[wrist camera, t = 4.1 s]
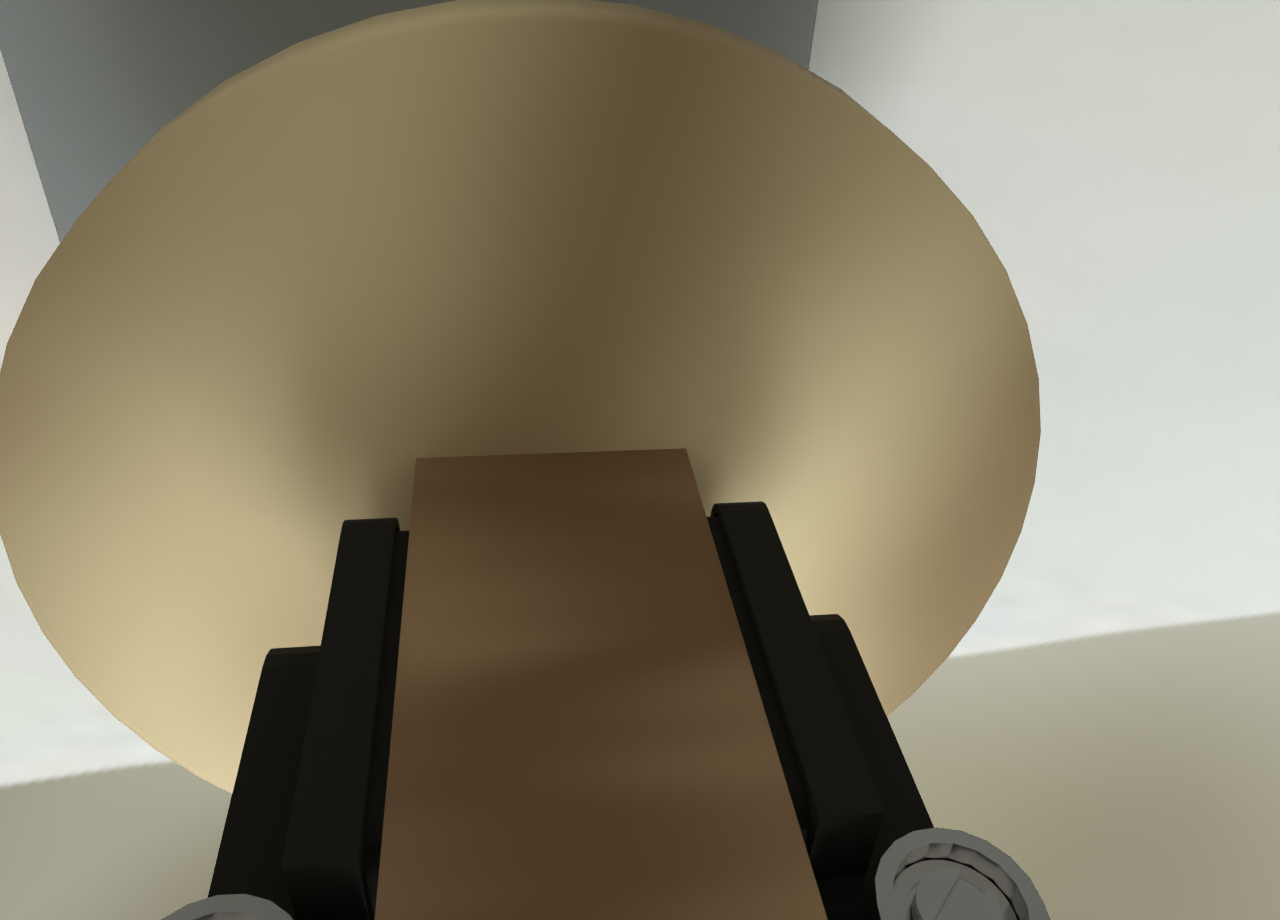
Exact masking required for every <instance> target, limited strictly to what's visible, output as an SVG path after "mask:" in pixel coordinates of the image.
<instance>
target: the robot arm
mask: <svg viewBox="0 0 1280 920" xmlns="http://www.w3.org/2000/svg"><path fill="white" fill-rule="evenodd" d="M707 520H708V524H709V527H710V530H711V533H712V537H713V540H714V543H715V547H716V550H717V553H718V557H719V560H720V563H721V567H722V570H723V573H724V577H725V580H726V583H727V587H728V590H729V593H730V597H731V600H732V603H733V607H734V610H735V613H736V617H737V620H738V623H739V627H740V630H741V633H742V637H743V640H744V643H745V647H746V650H747V653H748V657H749V660H750V663H751V667H752V670H753V673H754V677H755V680H756V683H757V686H758V690H759V693H760V696H761V700H762V703H763V706H764V710H765V713H766V716H767V720H768V723H769V726H770V730H771V733H772V736H773V740H774V743H775V746H776V750H777V753H778V756H779V760H780V763H781V766H782V770H783V773H784V776H785V780H786V783H787V786H788V790H789V793H790V796H791V800H792V803H793V806H794V810H795V813H796V816H797V820H798V823H799V826H800V830H801V833H802V836H803V840H804V843H805V846H806V849H807V853H808V856H809V859H810V863H811V866H812V869H813V873H814V876H815V879H816V883H817V886H818V889H819V893H820V896H821V899H822V903H823V906H824V909H825V913H826V916H827V919H828V920H1050V917H1049V915H1048V912H1047V910H1046V908H1045V905H1044V902H1043V900H1042V899H1041V897H1040V895H1039V893H1038V891H1037V890H1036V888H1035V886H1034V884H1033V883H1032V881H1031V879H1030V877H1029V876H1028V875H1027V874H1026V873H1025V872H1024V871H1023V870H1022V869H1021V868H1020V867H1019V866H1018V865H1017V863H1016V862H1015V861H1014V860H1013V859H1012V858H1011V857H1010V856H1008V855H1007V854H1006V853H1004V852H1003V851H1001V850H1000V849H998V848H997V847H995V846H994V845H992V844H991V843H989V842H988V841H986V840H984V839H981V838H979V837H975V836H973V835H971V834H968V833H966V832H963V831H959V830H951V829H944V828H934V827H933V824H932V822H931V819H930V817H929V815H928V812H927V810H926V808H925V806H924V803H923V801H922V798H921V796H920V794H919V791H918V789H917V787H916V784H915V782H914V780H913V777H912V775H911V773H910V770H909V768H908V766H907V763H906V761H905V758H904V756H903V754H902V751H901V749H900V747H899V744H898V742H897V740H896V737H895V735H894V733H893V730H892V728H891V726H890V723H889V721H888V719H887V716H886V714H885V711H884V709H883V707H882V704H881V702H880V700H879V697H878V695H877V693H876V690H875V688H874V686H873V683H872V681H871V679H870V676H869V674H868V672H867V669H866V667H865V664H864V662H863V660H862V657H861V655H860V653H859V650H858V648H857V646H856V643H855V641H854V639H853V636H852V634H851V632H850V630H849V628H848V626H847V624H846V622H845V620H844V619H843V618H842V617H841V616H840V615H838V614H825V615H809V613H808V610H807V608H806V605H805V603H804V600H803V597H802V595H801V592H800V590H799V587H798V584H797V582H796V579H795V577H794V574H793V571H792V569H791V566H790V564H789V561H788V559H787V556H786V553H785V551H784V548H783V546H782V543H781V540H780V538H779V535H778V533H777V530H776V527H775V525H774V522H773V520H772V517H771V514H770V512H769V509H768V507H767V505H766V504H765V503H764V502H763V501H758V502H735V503H716V504H714V505H713V507H712V510H711V516H710V517H707ZM409 531H410V530H409ZM409 531H400V527H399V522H398V519H397V518H376V519H354V520H344V522H343V524H342V528H341V533H340V539H339V544H338V550H337V556H336V561H335V567H334V573H333V578H332V584H331V590H330V595H329V601H328V607H327V612H326V618H325V624H324V629H323V635H322V641H321V645H320V646H304V647H288V648H273V649H270V650H269V652H268V653H267V655H266V657H265V661H264V664H263V667H262V671H261V675H260V679H259V683H258V688H257V692H256V696H255V700H254V704H253V709H252V713H251V717H250V721H249V726H248V730H247V734H246V738H245V742H244V747H243V751H242V755H241V759H240V764H239V768H238V772H237V776H236V780H235V785H234V789H233V793H232V797H231V802H230V806H229V810H228V815H227V818H226V823H225V827H224V831H223V835H222V840H221V844H220V848H219V852H218V857H217V861H216V865H215V869H214V873H213V878H212V882H211V886H210V890H209V895H208V898H206V899H203V900H200V901H197V902H193V903H190V904H187V905H186V906H184V907H182V908H181V909H179V910H177V911H175V912H174V913H172V914H170V915H169V916H167V917H165V918H163V919H162V920H375V911H376V899H377V888H378V877H379V866H380V855H381V844H382V832H383V821H384V810H385V799H386V788H387V777H388V765H389V754H390V743H391V732H392V721H393V710H394V699H395V687H396V676H397V665H398V654H399V643H400V632H401V620H402V609H403V598H404V587H405V576H406V565H407V554H408V542H409Z"/></svg>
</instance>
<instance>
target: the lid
mask: <svg viewBox="0 0 1280 920" xmlns="http://www.w3.org/2000/svg"><path fill="white" fill-rule="evenodd" d="M1040 433H1041V429H1040V403H1039V379H1038V374H1037V369H1036V364H1035V359H1034V354H1033V350H1032V345H1031V340H1030V335H1029V330H1028V326H1027V322H1026V320H1025V317H1024V315H1023V312H1022V310H1021V307H1020V305H1019V302H1018V300H1017V297H1016V294H1015V292H1014V289H1013V287H1012V284H1011V282H1010V279H1009V277H1008V274H1007V272H1006V269H1005V268H1004V266H1003V264H1002V263H1001V261H1000V259H999V258H998V256H997V254H996V253H995V251H994V249H993V248H992V246H991V245H990V243H989V241H988V240H987V238H986V236H985V235H984V233H983V231H982V230H981V228H980V226H979V225H978V223H977V221H976V220H975V218H974V217H973V215H972V214H971V213H970V212H969V211H968V209H967V208H966V207H965V206H964V205H963V204H962V203H961V201H960V200H959V199H958V198H957V197H956V196H955V194H954V193H953V192H952V191H951V190H950V189H949V188H948V186H947V185H946V184H945V183H944V182H943V181H942V179H941V178H940V177H939V176H938V175H937V174H936V173H935V171H934V170H933V169H932V168H931V167H930V166H929V165H928V164H927V163H926V162H925V161H924V160H923V159H922V158H921V157H919V156H918V155H917V154H916V153H915V152H914V151H913V150H912V149H911V148H909V147H908V146H907V145H906V144H905V143H904V142H903V141H902V140H901V139H900V138H898V137H897V136H896V135H895V134H894V133H893V132H892V131H890V130H889V129H888V128H887V127H886V126H884V125H883V124H882V123H881V122H880V121H878V120H877V119H876V118H875V117H874V116H872V115H871V114H870V113H869V112H867V111H866V110H865V109H864V108H863V107H861V106H860V105H859V104H858V103H857V102H855V101H854V100H853V99H852V98H851V97H849V96H848V95H847V94H846V93H845V92H843V91H842V90H841V89H839V88H838V87H836V86H834V85H832V84H831V83H829V82H827V81H826V80H824V79H822V78H821V77H819V76H817V75H816V74H814V73H812V72H811V71H809V70H807V69H806V68H804V67H802V66H801V65H799V64H797V63H796V62H794V61H792V60H791V59H789V58H787V57H786V56H784V55H782V54H781V53H779V52H776V51H774V50H772V49H769V48H767V47H764V46H762V45H759V44H757V43H754V42H752V41H750V40H747V39H745V38H742V37H740V36H737V35H735V34H732V33H730V32H727V31H725V30H723V29H720V28H718V27H715V26H713V25H710V24H708V23H704V22H700V21H696V20H692V19H688V18H684V17H680V16H676V15H672V14H668V13H664V12H660V11H655V10H651V9H647V8H643V7H639V6H635V5H631V4H624V3H614V2H604V1H594V0H456V1H450V2H445V3H440V4H434V5H429V6H424V7H418V8H413V9H408V10H402V11H397V12H392V13H386V14H381V15H376V16H374V17H371V18H368V19H365V20H362V21H359V22H356V23H353V24H350V25H347V26H344V27H342V28H339V29H336V30H333V31H330V32H327V33H324V34H321V35H318V36H315V37H312V38H310V39H307V40H304V41H301V42H298V43H296V44H294V45H292V46H290V47H288V48H286V49H284V50H283V51H281V52H279V53H277V54H275V55H273V56H271V57H269V58H267V59H265V60H263V61H261V62H260V63H258V64H256V65H254V66H252V67H250V68H248V69H246V70H244V71H242V72H240V73H238V74H237V75H235V76H233V77H231V78H229V79H227V80H225V81H224V82H222V83H221V84H220V85H218V86H217V87H216V88H214V89H213V90H212V91H210V92H209V93H208V94H206V95H205V96H204V97H202V98H201V99H199V100H198V101H197V102H195V103H194V104H193V105H191V106H190V107H189V108H187V109H186V110H185V111H183V112H182V113H181V114H179V115H178V116H176V117H175V118H174V119H172V120H171V121H170V122H168V123H167V124H166V125H164V126H163V127H162V128H161V129H160V130H159V131H158V132H157V133H156V134H155V135H154V136H153V137H152V138H151V139H150V140H149V141H148V142H147V143H146V144H145V145H144V146H143V147H142V148H141V150H140V151H139V152H138V153H137V154H136V155H135V156H134V157H133V158H132V159H131V160H130V161H129V162H128V163H127V164H126V165H125V166H124V167H123V168H122V169H121V170H120V171H119V172H118V173H117V174H116V175H115V176H114V177H113V178H112V179H111V180H110V182H109V183H108V184H107V185H106V186H105V187H104V188H103V190H102V191H101V192H100V193H99V194H98V195H97V196H96V198H95V199H94V200H93V201H92V202H91V203H90V204H89V206H88V207H87V208H86V209H85V210H84V211H83V212H82V214H81V215H80V216H79V217H78V218H77V220H76V221H75V222H74V224H73V225H72V227H71V228H70V230H69V231H68V233H67V234H66V236H65V237H64V239H63V240H62V242H61V243H60V245H59V246H58V247H57V249H56V250H55V252H54V253H53V255H52V256H51V258H50V259H49V261H48V262H47V264H46V265H45V267H44V268H43V269H42V271H41V272H40V274H39V275H38V277H37V278H36V280H35V282H34V284H33V286H32V289H31V291H30V293H29V295H28V298H27V300H26V302H25V304H24V307H23V309H22V311H21V313H20V316H19V318H18V320H17V323H16V325H15V327H14V329H13V332H12V334H11V336H10V338H9V341H8V343H7V346H6V351H5V355H4V359H3V364H2V368H1V372H0V534H1V537H2V540H3V543H4V546H5V549H6V552H7V555H8V558H9V561H10V564H11V567H12V570H13V574H14V577H15V580H16V582H17V584H18V586H19V588H20V590H21V592H22V594H23V596H24V598H25V600H26V602H27V603H28V605H29V607H30V609H31V611H32V613H33V615H34V617H35V619H36V621H37V622H38V624H39V626H40V628H41V630H42V632H43V633H44V635H45V636H46V637H47V639H48V640H49V642H50V643H51V644H52V646H53V647H54V648H55V650H56V651H57V652H58V654H59V655H60V656H61V658H62V659H63V661H64V662H65V663H66V665H67V666H68V667H69V669H70V670H71V671H72V673H73V674H74V676H75V677H76V678H77V679H78V680H79V681H80V682H81V683H82V684H83V685H84V686H85V687H86V688H87V689H88V690H89V691H90V692H91V693H92V694H93V695H94V696H95V697H96V698H97V699H98V700H99V702H100V703H101V704H102V705H103V706H104V707H105V708H106V709H107V710H108V711H109V712H110V713H111V714H112V715H113V716H114V717H115V718H117V719H118V720H119V721H120V722H122V723H123V724H124V725H125V726H127V727H128V728H129V729H130V730H132V731H133V732H134V733H135V734H137V735H138V736H139V737H140V738H142V739H143V740H144V741H145V742H147V743H148V744H149V745H150V746H152V747H153V748H154V749H155V750H157V751H159V752H160V753H162V754H163V755H165V756H166V757H168V758H170V759H171V760H173V761H174V762H176V763H178V764H179V765H181V766H182V767H184V768H186V769H187V770H189V771H190V772H192V773H194V774H195V775H197V776H198V777H200V778H201V779H204V780H206V781H208V782H210V783H212V784H214V785H216V786H218V787H220V788H222V789H224V790H226V791H228V792H230V793H233V789H234V785H235V780H236V776H237V772H238V768H239V764H240V759H241V755H242V751H243V747H244V742H245V738H246V734H247V730H248V726H249V721H250V717H251V713H252V709H253V704H254V700H255V696H256V692H257V688H258V683H259V679H260V675H261V671H262V667H263V664H264V661H265V657H266V655H267V653H268V652H269V650H270V649H273V648H288V647H304V646H320V645H321V641H322V635H323V629H324V624H325V618H326V612H327V607H328V601H329V595H330V590H331V584H332V578H333V573H334V567H335V561H336V556H337V550H338V544H339V539H340V533H341V528H342V524H343V522H344V520H354V519H376V518H397V519H398V522H399V527H400V531H409V530H410V531H409V542H408V554H407V565H406V576H405V587H404V598H403V609H402V620H401V632H400V643H399V654H398V665H397V676H396V687H395V699H394V710H393V721H392V732H391V743H390V754H389V765H388V777H387V788H386V799H385V810H384V821H383V832H382V844H381V855H380V866H379V877H378V888H377V899H376V911H375V920H828V919H827V916H826V913H825V909H824V906H823V903H822V899H821V896H820V893H819V889H818V886H817V883H816V879H815V876H814V873H813V869H812V866H811V863H810V859H809V856H808V853H807V849H806V846H805V843H804V840H803V836H802V833H801V830H800V826H799V823H798V820H797V816H796V813H795V810H794V806H793V803H792V800H791V796H790V793H789V790H788V786H787V783H786V780H785V776H784V773H783V770H782V766H781V763H780V760H779V756H778V753H777V750H776V746H775V743H774V740H773V736H772V733H771V730H770V726H769V723H768V720H767V716H766V713H765V710H764V706H763V703H762V700H761V696H760V693H759V690H758V686H757V683H756V680H755V677H754V673H753V670H752V667H751V663H750V660H749V657H748V653H747V650H746V647H745V643H744V640H743V637H742V633H741V630H740V627H739V623H738V620H737V617H736V613H735V610H734V607H733V603H732V600H731V597H730V593H729V590H728V587H727V583H726V580H725V577H724V573H723V570H722V567H721V563H720V560H719V557H718V553H717V550H716V547H715V543H714V540H713V537H712V533H711V530H710V527H709V524H708V520H707V517H710V516H711V510H712V507H713V505H714V504H716V503H735V502H758V501H763V502H764V503H765V504H766V505H767V507H768V509H769V512H770V514H771V517H772V520H773V522H774V525H775V527H776V530H777V533H778V535H779V538H780V540H781V543H782V546H783V548H784V551H785V553H786V556H787V559H788V561H789V564H790V566H791V569H792V571H793V574H794V577H795V579H796V582H797V584H798V587H799V590H800V592H801V595H802V597H803V600H804V603H805V605H806V608H807V610H808V613H809V615H825V614H838V615H840V616H841V617H842V618H843V619H844V620H845V622H846V624H847V626H848V628H849V630H850V632H851V634H852V636H853V639H854V641H855V643H856V646H857V648H858V650H859V653H860V655H861V657H862V660H863V662H864V664H865V667H866V669H867V672H868V674H869V676H870V679H871V681H872V683H873V686H874V688H875V690H876V693H877V695H878V697H879V700H880V702H881V704H882V707H883V709H884V711H885V714H886V716H888V715H889V714H890V713H891V712H893V711H894V710H895V709H896V708H897V707H898V706H899V705H900V704H902V703H903V702H904V701H905V700H907V699H908V698H909V697H910V696H911V695H912V694H913V693H914V692H915V691H916V690H917V689H918V688H919V687H920V686H921V685H922V684H923V683H924V682H925V681H926V680H927V679H928V678H929V677H930V675H932V673H933V672H934V671H935V670H936V669H937V668H938V667H939V666H940V665H941V664H942V663H943V662H944V661H945V660H946V659H947V657H948V656H949V655H950V654H951V652H952V651H953V650H954V648H955V647H956V646H957V644H958V643H959V642H960V640H961V639H962V638H963V637H964V635H965V634H966V633H967V631H968V630H969V629H970V627H971V626H972V625H973V623H974V622H975V621H976V619H977V618H978V616H979V614H980V613H981V611H982V609H983V608H984V606H985V604H986V603H987V601H988V599H989V598H990V596H991V594H992V592H993V591H994V589H995V587H996V586H997V584H998V582H999V581H1000V579H1001V577H1002V575H1003V573H1004V570H1005V568H1006V566H1007V563H1008V561H1009V559H1010V556H1011V554H1012V552H1013V549H1014V547H1015V545H1016V542H1017V540H1018V538H1019V535H1020V533H1021V530H1022V527H1023V523H1024V519H1025V516H1026V512H1027V508H1028V505H1029V501H1030V498H1031V494H1032V490H1033V487H1034V483H1035V474H1036V466H1037V458H1038V449H1039V441H1040Z"/></svg>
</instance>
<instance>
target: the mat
mask: <svg viewBox="0 0 1280 920" xmlns="http://www.w3.org/2000/svg"><path fill="white" fill-rule="evenodd" d="M450 1H456V0H0V49H1V52H2V55H3V59H4V62H5V65H6V68H7V72H8V75H9V78H10V81H11V85H12V88H13V91H14V94H15V98H16V101H17V104H18V107H19V111H20V114H21V117H22V120H23V124H24V127H25V130H26V133H27V137H28V140H29V143H30V146H31V150H32V153H33V156H34V159H35V163H36V166H37V169H38V172H39V175H40V179H41V182H42V185H43V188H44V192H45V195H46V198H47V201H48V205H49V208H50V211H51V214H52V218H53V221H54V224H55V227H56V231H57V234H58V237H59V240H60V243H61V242H62V240H63V239H64V237H65V236H66V234H67V233H68V231H69V230H70V228H71V227H72V225H73V224H74V222H75V221H76V220H77V218H78V217H79V216H80V215H81V214H82V212H83V211H84V210H85V209H86V208H87V207H88V206H89V204H90V203H91V202H92V201H93V200H94V199H95V198H96V196H97V195H98V194H99V193H100V192H101V191H102V190H103V188H104V187H105V186H106V185H107V184H108V183H109V182H110V180H111V179H112V178H113V177H114V176H115V175H116V174H117V173H118V172H119V171H120V170H121V169H122V168H123V167H124V166H125V165H126V164H127V163H128V162H129V161H130V160H131V159H132V158H133V157H134V156H135V155H136V154H137V153H138V152H139V151H140V150H141V148H142V147H143V146H144V145H145V144H146V143H147V142H148V141H149V140H150V139H151V138H152V137H153V136H154V135H155V134H156V133H157V132H158V131H159V130H160V129H161V128H162V127H163V126H164V125H166V124H167V123H168V122H170V121H171V120H172V119H174V118H175V117H176V116H178V115H179V114H181V113H182V112H183V111H185V110H186V109H187V108H189V107H190V106H191V105H193V104H194V103H195V102H197V101H198V100H199V99H201V98H202V97H204V96H205V95H206V94H208V93H209V92H210V91H212V90H213V89H214V88H216V87H217V86H218V85H220V84H221V83H222V82H224V81H225V80H227V79H229V78H231V77H233V76H235V75H237V74H238V73H240V72H242V71H244V70H246V69H248V68H250V67H252V66H254V65H256V64H258V63H260V62H261V61H263V60H265V59H267V58H269V57H271V56H273V55H275V54H277V53H279V52H281V51H283V50H284V49H286V48H288V47H290V46H292V45H294V44H296V43H298V42H301V41H304V40H307V39H310V38H312V37H315V36H318V35H321V34H324V33H327V32H330V31H333V30H336V29H339V28H342V27H344V26H347V25H350V24H353V23H356V22H359V21H362V20H365V19H368V18H371V17H374V16H376V15H381V14H386V13H392V12H397V11H402V10H408V9H413V8H418V7H424V6H429V5H434V4H440V3H445V2H450ZM594 1H604V2H614V3H624V4H631V5H635V6H639V7H643V8H647V9H651V10H655V11H660V12H664V13H668V14H672V15H676V16H680V17H684V18H688V19H692V20H696V21H700V22H704V23H708V24H710V25H713V26H715V27H718V28H720V29H723V30H725V31H727V32H730V33H732V34H735V35H737V36H740V37H742V38H745V39H747V40H750V41H752V42H754V43H757V44H759V45H762V46H764V47H767V48H769V49H772V50H774V51H776V52H779V53H781V54H782V55H784V56H786V57H787V58H789V59H791V60H792V61H794V62H796V63H797V64H799V65H801V66H802V67H804V68H806V69H807V70H808V68H809V61H810V54H811V46H812V39H813V32H814V25H815V18H816V11H817V4H818V0H594Z"/></svg>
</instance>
